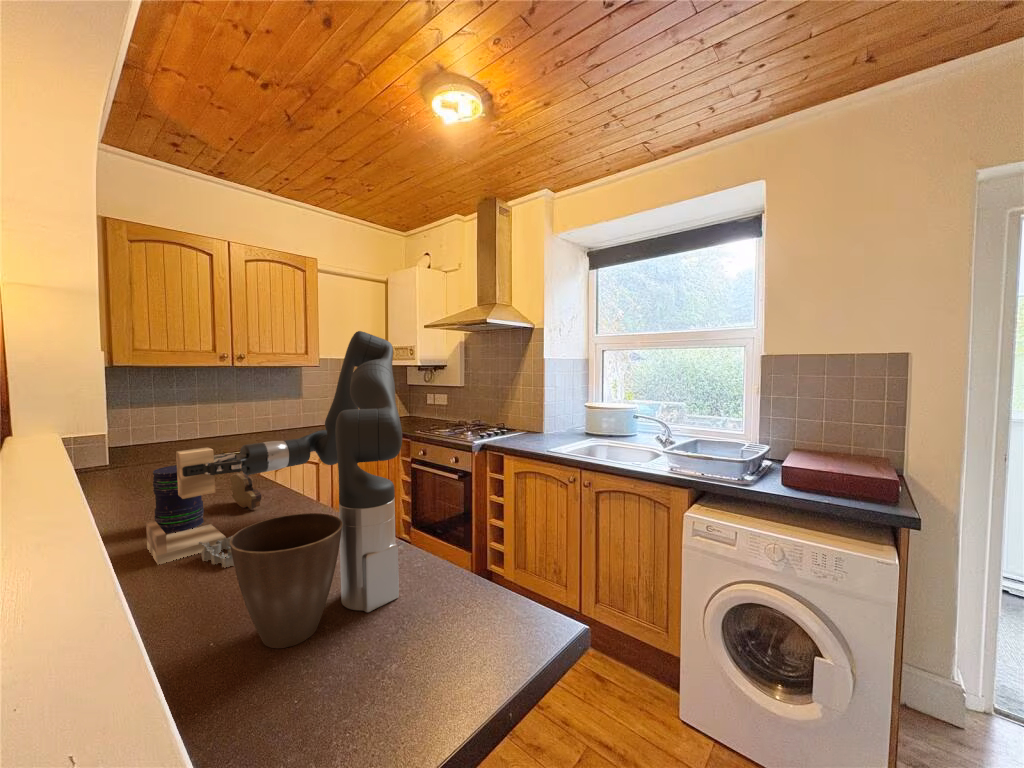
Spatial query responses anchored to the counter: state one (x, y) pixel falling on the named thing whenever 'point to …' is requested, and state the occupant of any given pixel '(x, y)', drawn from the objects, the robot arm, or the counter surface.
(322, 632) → the counter surface
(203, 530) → the birch board
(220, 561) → the egg carton
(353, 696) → the counter surface
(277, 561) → the plant pot
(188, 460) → the oak plank block
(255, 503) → the wooden carving
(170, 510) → the storage jar
